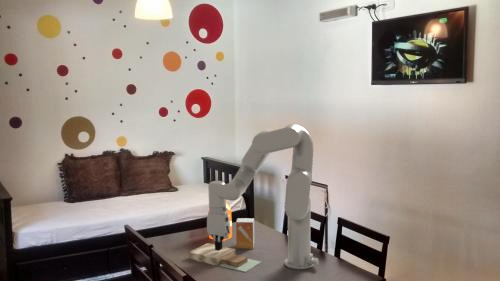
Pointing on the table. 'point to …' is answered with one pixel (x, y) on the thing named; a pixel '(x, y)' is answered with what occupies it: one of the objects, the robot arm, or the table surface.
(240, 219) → the small box
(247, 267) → the mat
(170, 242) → the table surface
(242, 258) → the tile
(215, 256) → the deck
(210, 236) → the orange juice
